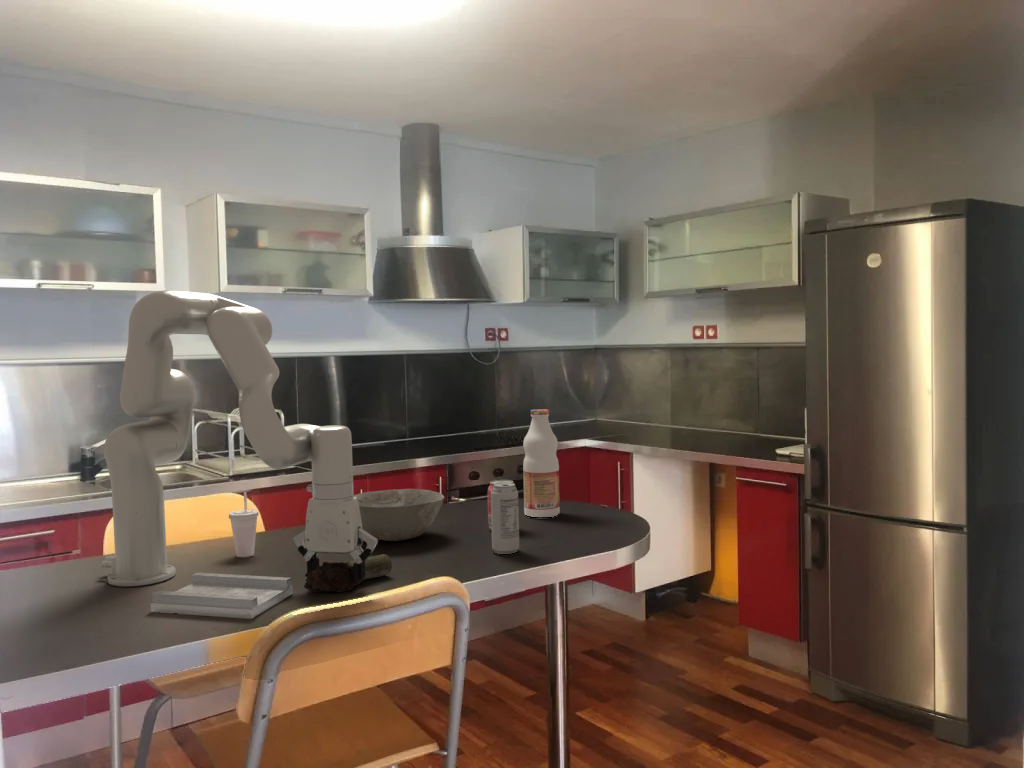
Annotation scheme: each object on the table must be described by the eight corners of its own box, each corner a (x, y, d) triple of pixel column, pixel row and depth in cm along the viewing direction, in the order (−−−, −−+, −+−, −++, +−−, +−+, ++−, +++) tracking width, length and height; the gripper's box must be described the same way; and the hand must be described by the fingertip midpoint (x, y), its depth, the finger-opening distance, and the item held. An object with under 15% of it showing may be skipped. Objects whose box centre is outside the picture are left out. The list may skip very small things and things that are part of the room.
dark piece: (377, 573, 168) (377, 545, 168) (398, 579, 164) (397, 551, 163) (301, 593, 156) (300, 563, 155) (321, 600, 151) (320, 570, 151)
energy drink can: (511, 547, 186) (510, 481, 185) (524, 553, 181) (522, 485, 180) (487, 550, 183) (485, 483, 183) (499, 557, 178) (498, 488, 177)
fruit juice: (516, 515, 219) (514, 410, 217) (540, 510, 226) (538, 407, 224) (543, 520, 212) (541, 412, 211) (567, 514, 219) (565, 409, 218)
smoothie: (265, 554, 185) (263, 492, 184) (239, 560, 180) (236, 496, 179) (251, 549, 189) (248, 489, 188) (224, 555, 184) (222, 493, 184)
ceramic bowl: (452, 545, 189) (450, 502, 189) (349, 554, 184) (348, 509, 183) (437, 524, 211) (436, 486, 210) (345, 531, 205) (344, 491, 205)
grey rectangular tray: (151, 611, 147) (150, 594, 146) (199, 588, 160) (198, 572, 160) (251, 618, 142) (250, 600, 142) (292, 593, 155) (291, 577, 155)
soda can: (522, 528, 204) (521, 480, 203) (506, 534, 198) (505, 485, 198) (498, 525, 208) (497, 478, 207) (482, 531, 202) (481, 482, 201)
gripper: (281, 494, 155) (285, 584, 156) (367, 496, 151) (370, 589, 152) (301, 486, 162) (304, 573, 163) (383, 488, 158) (386, 577, 159)
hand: (336, 581), depth 157 cm, fingers closed on dark piece, 8 cm apart
